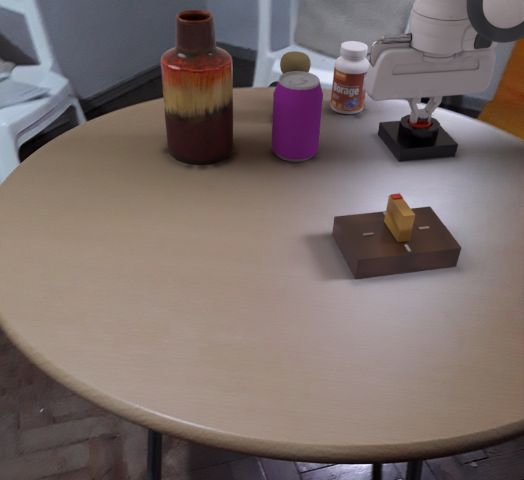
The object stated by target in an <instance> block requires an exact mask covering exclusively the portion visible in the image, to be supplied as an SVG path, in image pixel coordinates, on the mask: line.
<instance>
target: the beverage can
mask: <svg viewBox="0 0 524 480" xmlns="http://www.w3.org/2000/svg"><path fill="white" fill-rule="evenodd" d="M322 88H323V87H322V85H321V80H320V78H319V77H318V76H317V75H316V74H313V73H311V72H309V73H308V72H301V71H292V72H287V73H284V74H283V73H282V74H281V75H279V78H278V81H277V83H276V86H275V88H274V91H273V97H272V124H271V125H272V126H271V149H272V152H273V153H274V154H275V155H276V156H277V157H278V158H279V159H282V160H284V161H287V162H293V163H299V162H305V161H308V160H310V159H311V158H312V157H314V156H315V155H316V154H317V153H318V150H319V144H320V133H321V124H322V123H321V122H322V111H323V101H324V92H323V89H322Z"/></svg>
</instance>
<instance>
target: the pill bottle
mask: <svg viewBox="0 0 524 480" xmlns="http://www.w3.org/2000/svg"><path fill="white" fill-rule="evenodd" d="M368 49H369V47H368V45H367V44H366V43H365V42H361V41H357V40H356V41H355V40H347V41H343V42H341V45H340V49H339V53H340V56H338V57H337V58H336V59H335V61H334V67H333V74H332V75H333V77H332V85H331V94H330V105H329V106H330V108H331V109H332V111H334V112H336V113H337V114H341V115H355V114H359V113H361V112H362V111H363V110H364V106H365V99H366V94H367V93H366V91H365V88H364V85H365V80H366V75H367V71H368V67H369V64H370V60H369V59H368V58H367V56H368V51H369V50H368Z"/></svg>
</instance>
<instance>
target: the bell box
mask: <svg viewBox="0 0 524 480" xmlns="http://www.w3.org/2000/svg"><path fill="white" fill-rule="evenodd" d="M410 115H411V113H410V114H406V115H403V116H401V117H400V120H389V121H388V120H387V121H379V123H378V128H377V129H378V130H377V136H378V137H379V138H380V139H381V141H382V142H383V143H384V145H385V146H386V147H387V149H388V150H389V151H390V152H391V154H392V155H393V156H394V158H395V159H396V160H397V162H399V163H402V162H411V161H412V162H413V161H420V160H421V161H423V160H424V161H425V160H434V159H446V158H454V157H456V155H457V151H458V147H459V143H458V142H457V141H456V140H455V139H454V138H453V137H452V136H451V135H450V134H449V133H448V131H447V130H446V129H445V128H444V127H443V126H442V125H441V123H440V121H439V120H438V119H437V118H435V117H432V116H431V120H430V121H431V127H429V128H416V127H413V126H411V125H409V120H410Z"/></svg>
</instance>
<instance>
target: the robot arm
mask: <svg viewBox="0 0 524 480" xmlns="http://www.w3.org/2000/svg"><path fill="white" fill-rule="evenodd" d="M523 38H524V0H414V2H413V4H412V10H411V13H410V19H409V27H408V31H407V32H406V33H398V34H383V35H382V36H381V37H380V38H378V39H376V40H374V42H373V43H372V44H371V47H370V52H369V67H368V71H367V75H366V80H365V85H364V88H365V91H366V93H365V94H367V96H368V97H369V98H370V99H371V100H372V101H373V102H381V101H393V100H406V101H407V103H408V106H409V108H410V114H411V115H410V114H409V115H410V121H411V122H412V123H413V124H415V123H426V122H430V120H431V117H432V116H433V113H434V112H435V111H436V110H437V109H438V108H439V106H440V104H441V103H442V101H443V97H450V96H464V95H477V94H478V95H479V94H484V93H485V92H486V90H487V89H488V88H489V87H490V85H491V83H492V80H493V75H494V71H495V65H496V59H497V58H496V57H497V54H496V51H495V50H494V49H495V48H496V47H497V45H498V43H502V44H506V43H512V42H517V41H519V40H521V39H523ZM422 98H423V99H424V98H429V100H428V102H427V103H426V104H425V106H424V107H423V108H419V107H418V105H420V104H421V101H422Z"/></svg>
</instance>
